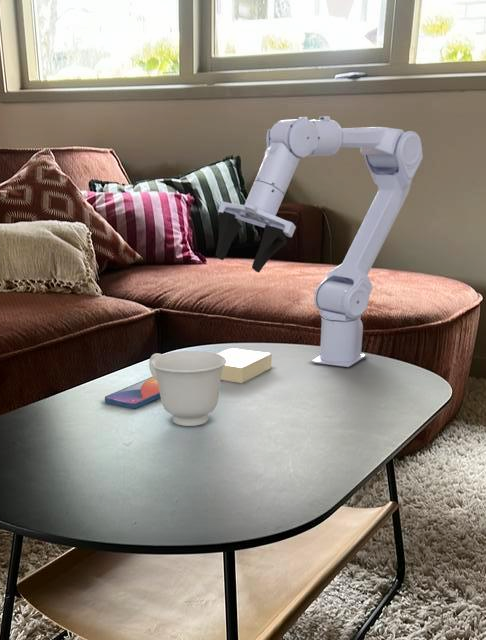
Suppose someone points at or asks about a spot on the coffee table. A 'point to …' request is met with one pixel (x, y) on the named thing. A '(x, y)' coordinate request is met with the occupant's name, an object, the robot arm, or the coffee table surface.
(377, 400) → the coffee table surface
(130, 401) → the smartphone
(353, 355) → the robot arm
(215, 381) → the teacup
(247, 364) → the book
